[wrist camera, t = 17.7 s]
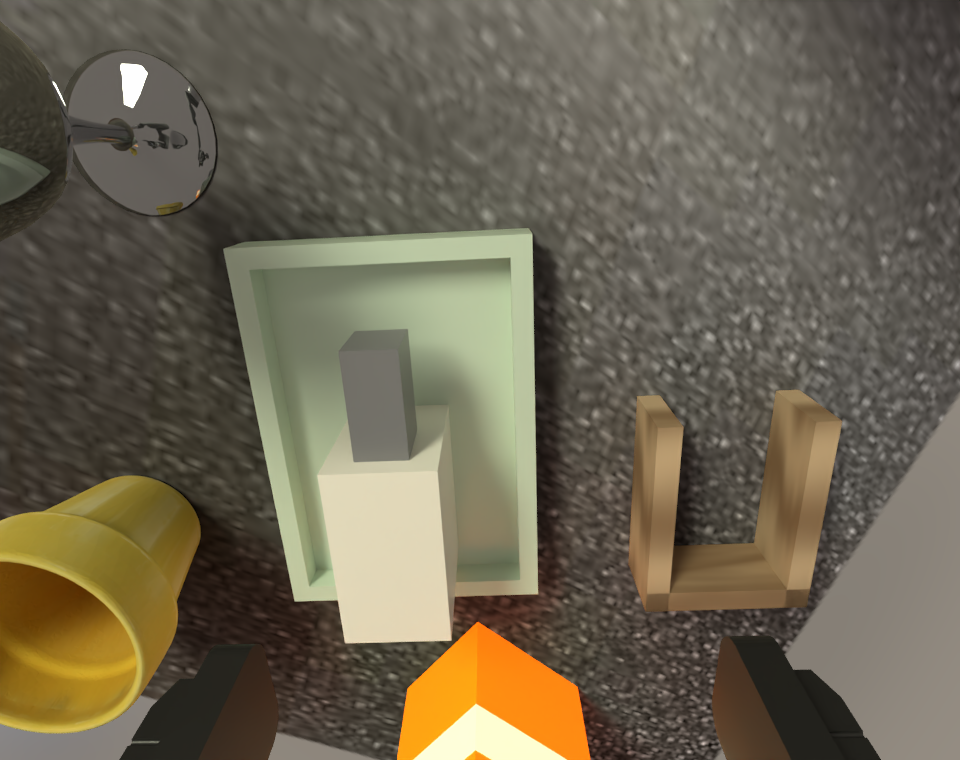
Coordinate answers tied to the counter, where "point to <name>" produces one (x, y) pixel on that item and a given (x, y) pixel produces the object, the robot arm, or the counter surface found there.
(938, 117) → the counter surface
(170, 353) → the counter surface
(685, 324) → the counter surface
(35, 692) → the plant pot
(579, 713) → the orange juice
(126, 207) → the wine glass
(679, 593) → the dock
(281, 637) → the counter surface
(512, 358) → the tray
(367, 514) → the cream and grey blocks
